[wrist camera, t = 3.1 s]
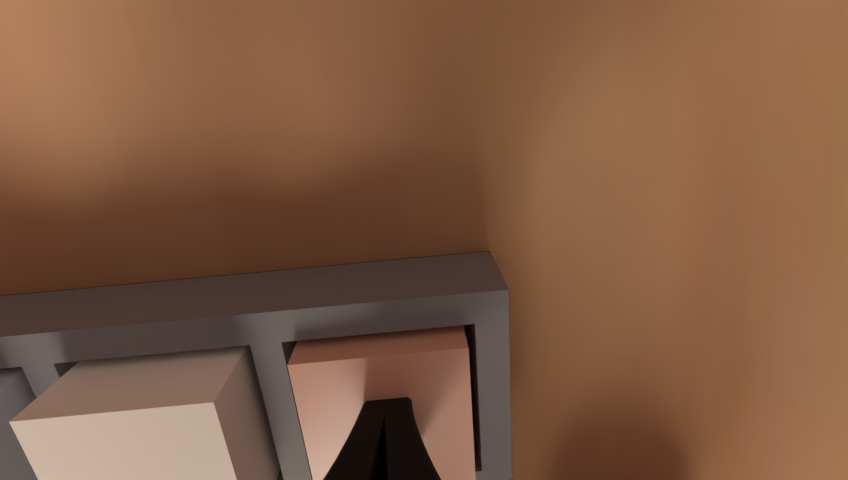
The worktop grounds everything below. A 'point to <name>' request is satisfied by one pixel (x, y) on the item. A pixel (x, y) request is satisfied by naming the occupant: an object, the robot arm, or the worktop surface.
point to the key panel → (281, 331)
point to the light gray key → (4, 399)
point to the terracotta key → (387, 392)
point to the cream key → (152, 420)
